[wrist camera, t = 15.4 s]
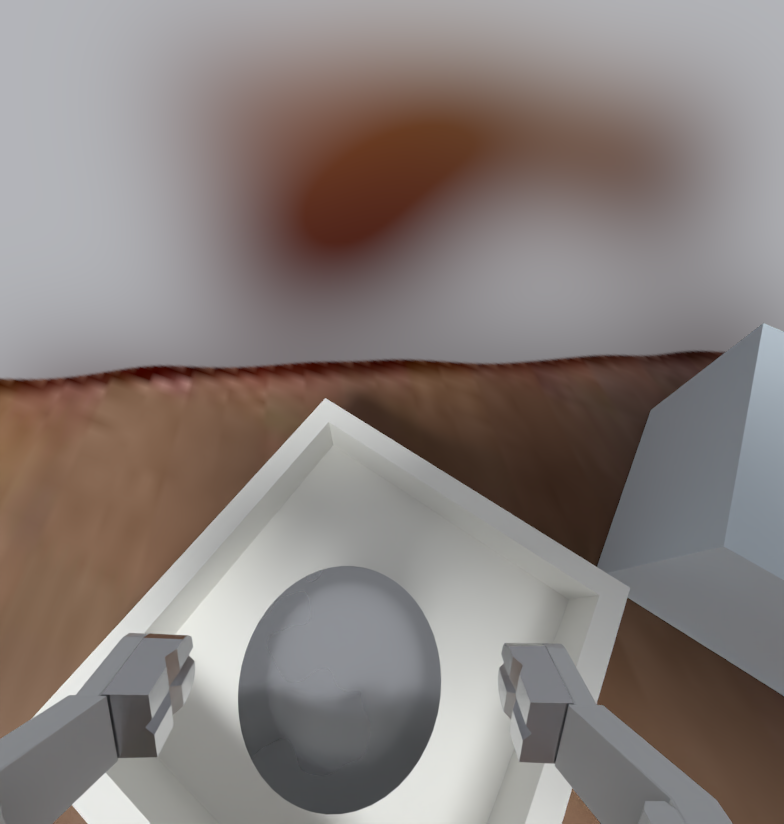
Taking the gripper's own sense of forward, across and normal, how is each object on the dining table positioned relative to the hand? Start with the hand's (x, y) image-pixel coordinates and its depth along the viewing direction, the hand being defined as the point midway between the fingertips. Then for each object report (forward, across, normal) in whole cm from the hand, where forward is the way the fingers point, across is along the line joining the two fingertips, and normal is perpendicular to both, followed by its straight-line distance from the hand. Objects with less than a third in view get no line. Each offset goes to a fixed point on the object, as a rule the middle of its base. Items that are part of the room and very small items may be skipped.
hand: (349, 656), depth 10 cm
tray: (+6, 0, +6) cm, 8 cm away
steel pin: (+5, 0, +5) cm, 7 cm away
